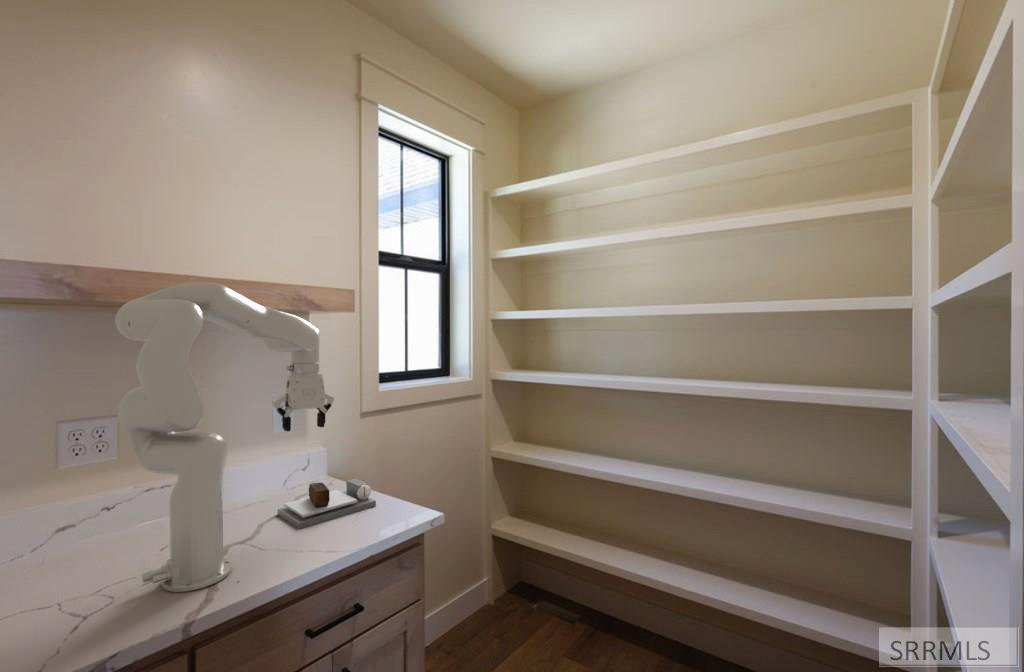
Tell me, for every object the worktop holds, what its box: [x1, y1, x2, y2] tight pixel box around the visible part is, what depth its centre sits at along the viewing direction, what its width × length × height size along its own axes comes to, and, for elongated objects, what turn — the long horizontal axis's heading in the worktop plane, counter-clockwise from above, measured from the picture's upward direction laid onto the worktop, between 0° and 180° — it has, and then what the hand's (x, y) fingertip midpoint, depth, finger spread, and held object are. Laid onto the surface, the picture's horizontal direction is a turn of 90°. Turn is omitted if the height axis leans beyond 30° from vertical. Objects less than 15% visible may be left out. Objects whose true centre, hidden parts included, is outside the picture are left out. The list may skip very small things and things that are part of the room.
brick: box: [308, 482, 330, 508], centre depth 139 cm, size 11×4×5 cm, turn 33°
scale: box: [277, 478, 377, 530], centre depth 141 cm, size 23×15×6 cm, turn 137°
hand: (304, 428), depth 137 cm, fingers open, 9 cm apart
